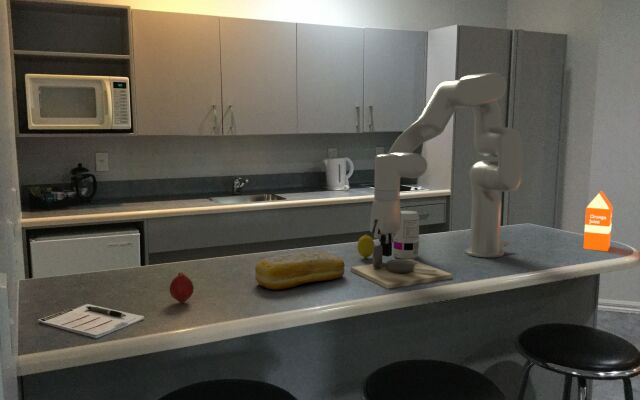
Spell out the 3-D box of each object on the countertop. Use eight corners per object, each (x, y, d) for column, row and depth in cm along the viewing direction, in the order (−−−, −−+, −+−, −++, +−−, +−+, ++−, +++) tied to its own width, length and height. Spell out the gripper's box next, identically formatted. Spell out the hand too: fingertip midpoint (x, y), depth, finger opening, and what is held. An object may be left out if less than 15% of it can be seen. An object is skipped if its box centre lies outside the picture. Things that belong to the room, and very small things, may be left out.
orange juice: (610, 246, 199) (614, 190, 196) (607, 251, 191) (611, 193, 188) (586, 243, 203) (589, 189, 200) (582, 248, 196) (586, 192, 193)
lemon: (373, 261, 179) (373, 236, 178) (356, 260, 180) (356, 236, 179) (375, 256, 184) (375, 233, 183) (358, 256, 186) (358, 232, 184)
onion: (172, 299, 142) (171, 268, 140) (195, 298, 142) (194, 268, 141) (168, 307, 136) (166, 275, 135) (192, 306, 136) (191, 274, 135)
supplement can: (390, 258, 182) (391, 213, 180) (396, 252, 190) (397, 209, 188) (415, 260, 179) (416, 214, 177) (420, 254, 187) (421, 211, 185)
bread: (247, 284, 155) (246, 256, 154) (323, 269, 170) (323, 243, 169) (272, 296, 144) (272, 266, 143) (351, 279, 160) (351, 252, 159)
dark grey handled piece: (438, 269, 163) (439, 247, 162) (433, 276, 155) (433, 254, 154) (377, 262, 170) (377, 242, 169) (368, 269, 163) (369, 248, 162)
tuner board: (410, 262, 177) (410, 258, 177) (452, 278, 159) (452, 273, 159) (350, 270, 167) (350, 266, 167) (387, 288, 150) (387, 284, 149)
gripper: (391, 192, 174) (390, 249, 176) (361, 196, 163) (360, 257, 166) (411, 194, 169) (410, 253, 171) (381, 199, 158) (381, 262, 161)
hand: (386, 255), depth 169 cm, fingers closed
